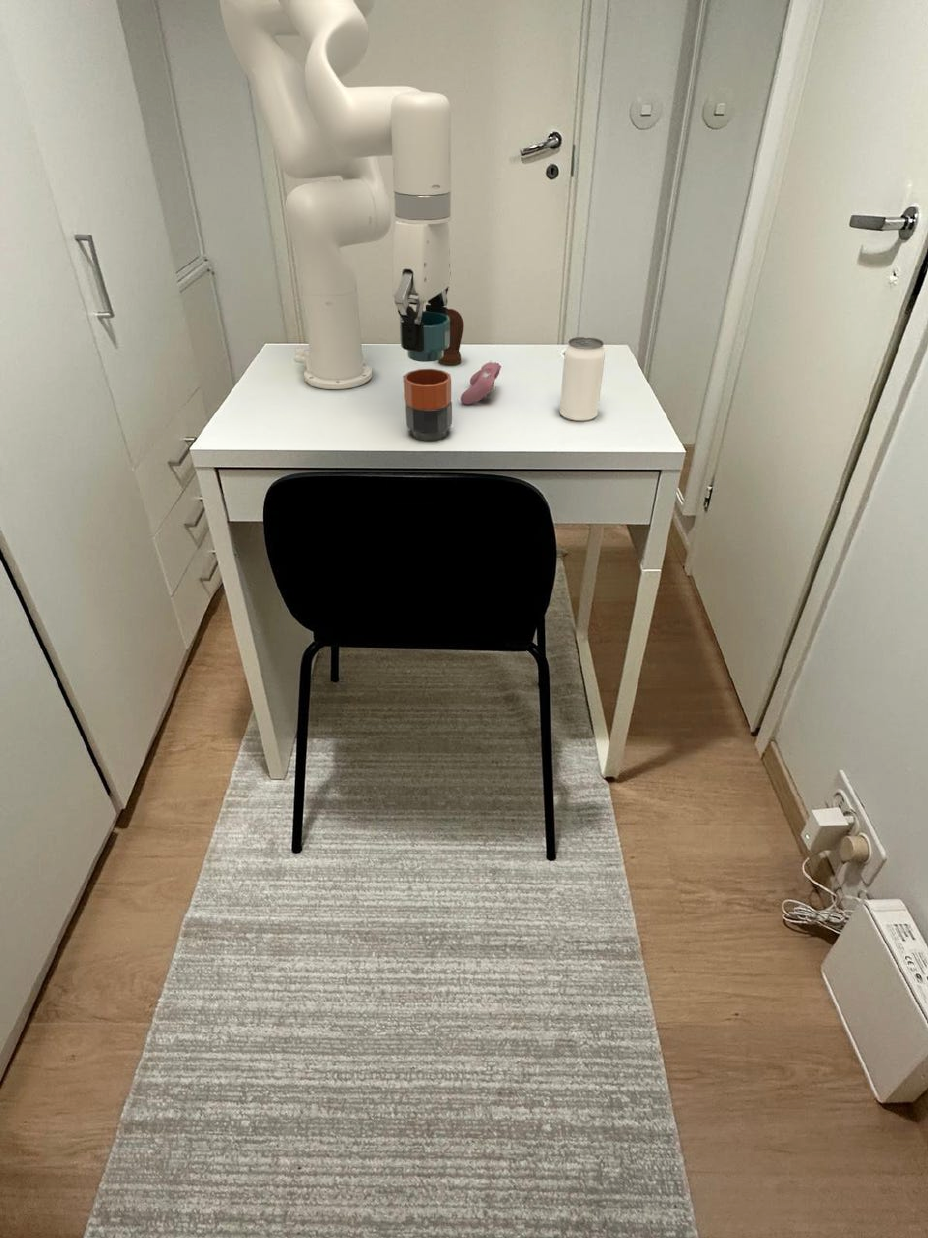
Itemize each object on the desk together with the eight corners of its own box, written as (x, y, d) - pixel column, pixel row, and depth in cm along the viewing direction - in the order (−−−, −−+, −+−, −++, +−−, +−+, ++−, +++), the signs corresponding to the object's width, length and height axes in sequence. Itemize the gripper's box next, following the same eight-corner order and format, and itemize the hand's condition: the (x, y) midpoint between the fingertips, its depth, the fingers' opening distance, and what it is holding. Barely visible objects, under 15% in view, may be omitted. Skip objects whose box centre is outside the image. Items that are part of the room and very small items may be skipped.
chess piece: (443, 356, 145) (442, 304, 139) (467, 360, 144) (467, 307, 137) (434, 364, 142) (433, 310, 135) (458, 367, 140) (458, 313, 134)
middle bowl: (397, 415, 113) (395, 381, 109) (417, 399, 118) (416, 366, 115) (439, 423, 111) (439, 388, 107) (458, 406, 116) (458, 372, 112)
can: (573, 424, 119) (580, 351, 112) (551, 410, 124) (557, 339, 116) (605, 417, 122) (614, 345, 114) (583, 404, 126) (591, 333, 119)
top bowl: (393, 359, 108) (391, 322, 104) (414, 344, 113) (413, 308, 109) (437, 367, 106) (437, 329, 102) (456, 351, 111) (457, 314, 107)
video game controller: (480, 415, 126) (499, 381, 122) (457, 402, 125) (476, 367, 121) (490, 394, 134) (508, 361, 129) (468, 381, 133) (486, 348, 129)
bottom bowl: (399, 438, 115) (397, 406, 112) (418, 421, 120) (417, 389, 117) (440, 446, 113) (440, 413, 110) (458, 428, 118) (458, 396, 115)
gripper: (424, 193, 104) (426, 321, 115) (366, 215, 91) (375, 356, 103) (473, 198, 102) (470, 328, 113) (420, 221, 89) (423, 364, 101)
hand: (425, 340), depth 108 cm, fingers closed on top bowl, 7 cm apart
